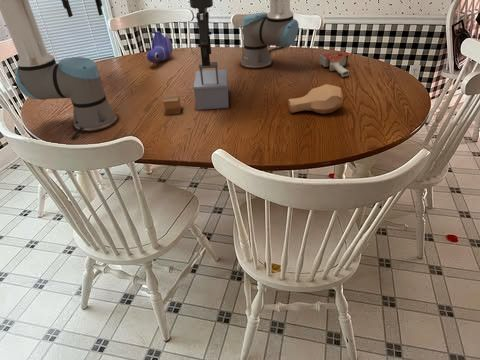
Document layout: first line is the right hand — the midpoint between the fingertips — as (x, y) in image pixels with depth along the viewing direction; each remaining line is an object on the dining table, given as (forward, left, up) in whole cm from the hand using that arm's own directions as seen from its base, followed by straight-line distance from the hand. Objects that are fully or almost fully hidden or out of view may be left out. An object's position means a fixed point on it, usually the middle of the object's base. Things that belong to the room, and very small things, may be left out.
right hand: (207, 59), depth 128 cm
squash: (-10, +38, -19) cm, 44 cm away
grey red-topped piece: (-56, +36, -19) cm, 68 cm away
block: (+8, -13, -19) cm, 24 cm away
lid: (-6, -3, -10) cm, 12 cm away
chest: (-7, -3, -19) cm, 20 cm away
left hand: (-14, -68, +9) cm, 70 cm away
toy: (-41, -53, -19) cm, 70 cm away
